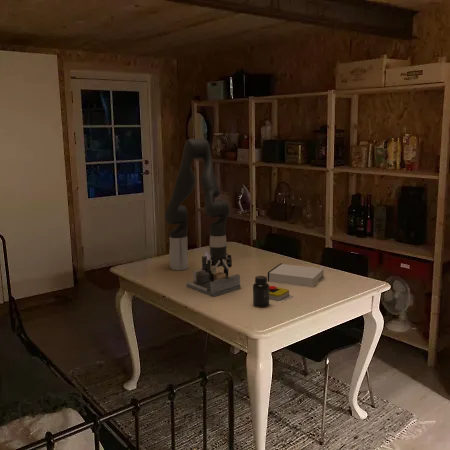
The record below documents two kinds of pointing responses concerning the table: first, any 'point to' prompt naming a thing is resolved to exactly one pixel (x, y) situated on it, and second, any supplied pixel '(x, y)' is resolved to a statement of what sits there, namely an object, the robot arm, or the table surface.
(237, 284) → the press
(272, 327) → the table surface
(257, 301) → the supplement bottle
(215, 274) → the maple block
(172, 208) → the robot arm
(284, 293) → the emergency button
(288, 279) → the disc drive
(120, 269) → the table surface
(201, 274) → the jaw
